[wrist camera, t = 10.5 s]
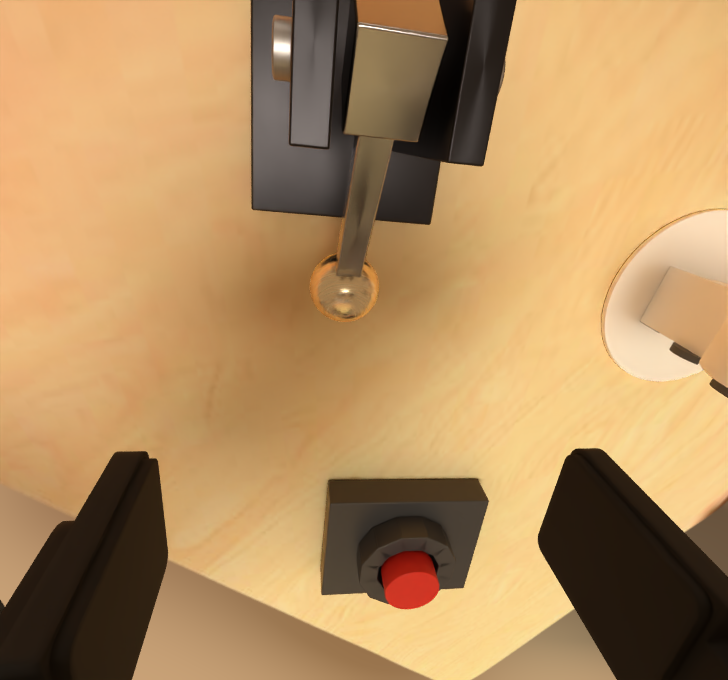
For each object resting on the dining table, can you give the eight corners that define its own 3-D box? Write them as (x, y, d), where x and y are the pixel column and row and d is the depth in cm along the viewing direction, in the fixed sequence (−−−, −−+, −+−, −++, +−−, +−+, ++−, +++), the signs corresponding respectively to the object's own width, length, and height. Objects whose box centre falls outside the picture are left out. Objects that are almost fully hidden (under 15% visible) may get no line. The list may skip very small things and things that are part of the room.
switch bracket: (425, 221, 24) (523, 292, 13) (253, 206, 22) (208, 272, 12) (465, -36, 19) (667, -249, 8) (253, -75, 18) (177, -387, 7)
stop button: (377, 586, 30) (381, 611, 29) (384, 549, 29) (388, 573, 27) (427, 584, 31) (434, 608, 29) (436, 547, 29) (444, 571, 28)
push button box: (320, 568, 34) (322, 620, 31) (328, 479, 30) (331, 526, 27) (454, 563, 36) (471, 611, 32) (478, 478, 32) (499, 521, 29)
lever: (371, 282, 23) (374, 335, 21) (308, 278, 22) (307, 332, 21) (454, -17, 11) (474, 50, 10) (332, -38, 11) (333, 28, 9)
